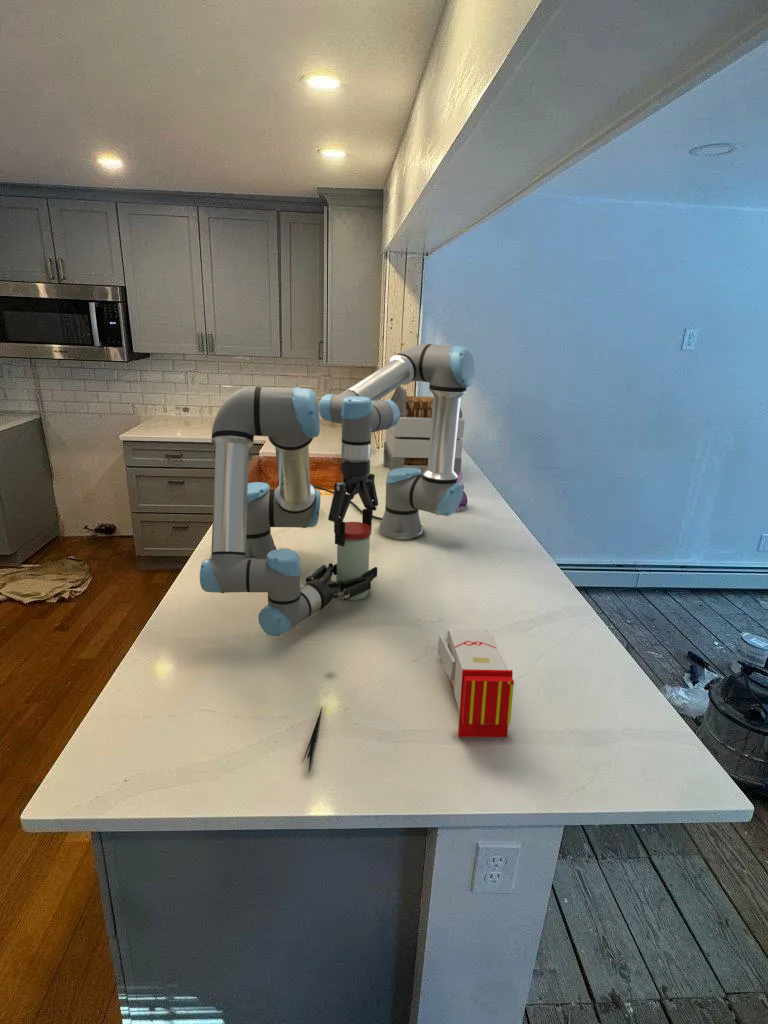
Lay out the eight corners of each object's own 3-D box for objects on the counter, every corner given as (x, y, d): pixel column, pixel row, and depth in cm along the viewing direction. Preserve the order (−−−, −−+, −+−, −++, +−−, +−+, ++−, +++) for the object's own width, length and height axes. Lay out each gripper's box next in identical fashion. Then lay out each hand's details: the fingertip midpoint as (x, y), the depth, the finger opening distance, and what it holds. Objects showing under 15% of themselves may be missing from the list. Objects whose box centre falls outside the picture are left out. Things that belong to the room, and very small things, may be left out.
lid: (335, 539, 147) (335, 533, 146) (336, 526, 156) (336, 521, 155) (371, 540, 148) (371, 534, 147) (370, 527, 156) (370, 521, 156)
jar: (372, 597, 155) (374, 534, 149) (341, 601, 152) (342, 538, 146) (361, 583, 163) (363, 523, 157) (332, 587, 160) (333, 526, 154)
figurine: (454, 513, 222) (457, 476, 217) (439, 505, 230) (442, 470, 225) (473, 510, 226) (477, 474, 221) (459, 503, 234) (462, 468, 229)
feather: (331, 679, 122) (336, 673, 122) (307, 777, 96) (313, 769, 95) (324, 675, 122) (329, 669, 121) (298, 772, 95) (304, 764, 95)
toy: (488, 613, 130) (523, 677, 101) (484, 667, 133) (517, 744, 104) (435, 612, 130) (455, 676, 101) (432, 666, 133) (451, 743, 103)
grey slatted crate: (382, 463, 289) (386, 382, 275) (445, 464, 293) (451, 384, 279) (390, 482, 257) (394, 392, 243) (460, 483, 261) (468, 394, 247)
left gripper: (278, 599, 148) (331, 568, 166) (345, 624, 137) (394, 589, 155) (278, 573, 145) (331, 545, 163) (346, 597, 135) (395, 564, 153)
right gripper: (371, 448, 156) (368, 523, 163) (313, 464, 138) (313, 547, 145) (393, 453, 152) (389, 529, 159) (337, 470, 134) (335, 555, 141)
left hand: (362, 567), depth 159 cm, fingers closed on jar, 9 cm apart
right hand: (353, 538), depth 152 cm, fingers open, 11 cm apart
